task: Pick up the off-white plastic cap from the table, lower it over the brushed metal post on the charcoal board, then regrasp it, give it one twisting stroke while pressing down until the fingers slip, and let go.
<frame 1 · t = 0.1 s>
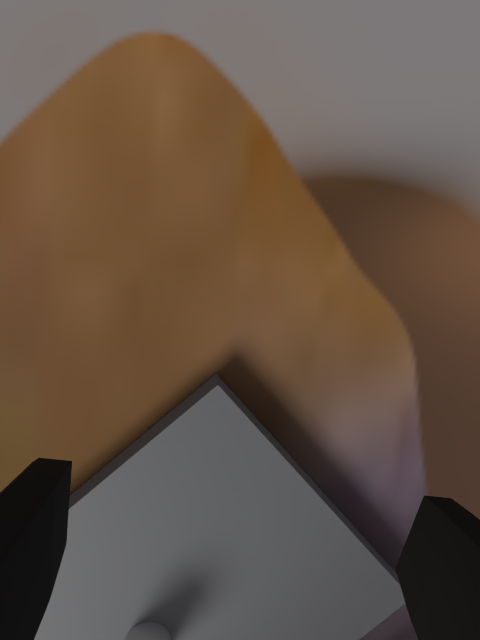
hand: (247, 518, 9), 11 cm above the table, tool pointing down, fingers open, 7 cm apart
post board: (150, 613, 21), on the table
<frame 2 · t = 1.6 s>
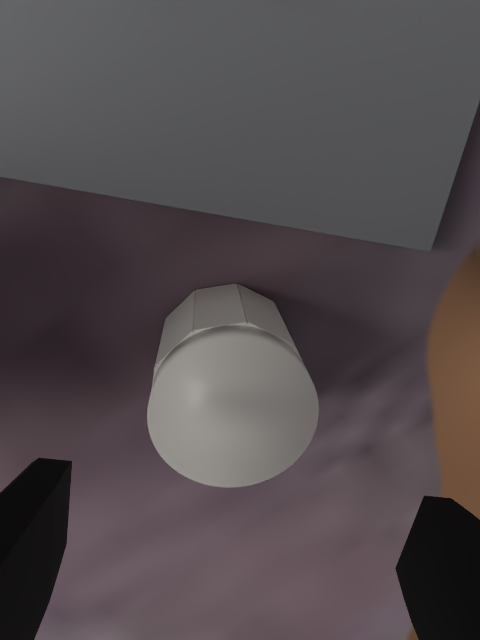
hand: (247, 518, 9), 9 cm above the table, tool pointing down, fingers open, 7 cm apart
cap: (225, 346, 17), on the table
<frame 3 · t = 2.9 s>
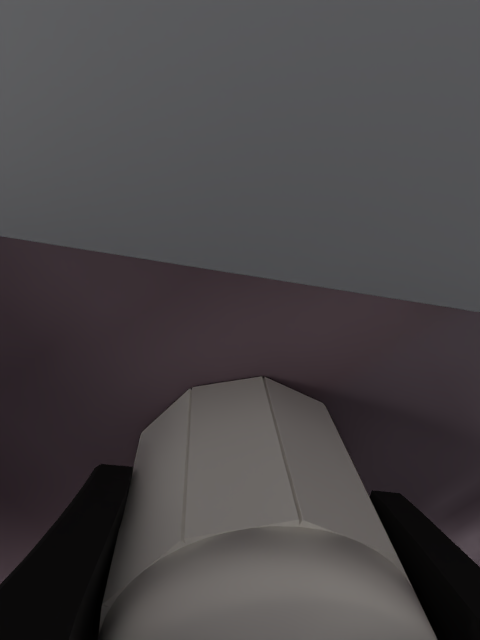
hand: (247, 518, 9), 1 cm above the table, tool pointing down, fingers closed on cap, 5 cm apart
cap: (242, 472, 10), on the table, touching gripper
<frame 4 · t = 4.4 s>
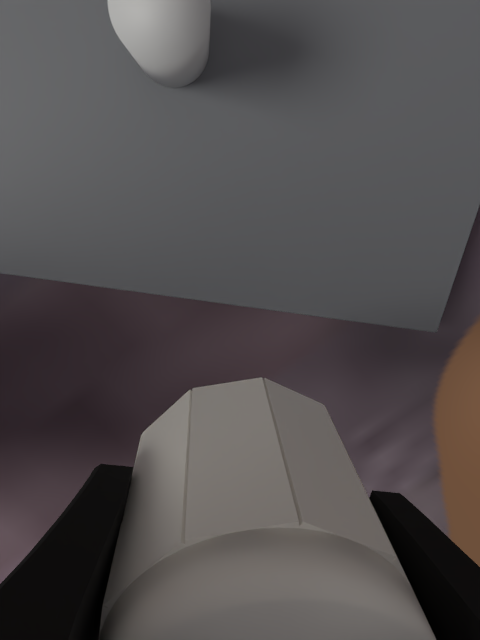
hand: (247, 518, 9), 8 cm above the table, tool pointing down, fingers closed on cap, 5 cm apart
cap: (242, 473, 10), point 7 cm above the table, touching gripper
post board: (175, 57, 13), on the table
when the fingers open (4 cm above the table, at t = 6.4 s): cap stays where it is, resting on post board.
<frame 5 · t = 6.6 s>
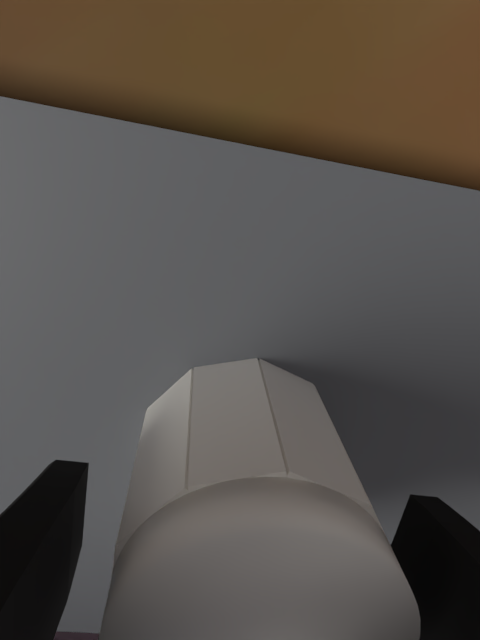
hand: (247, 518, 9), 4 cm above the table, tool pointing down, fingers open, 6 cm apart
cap: (238, 447, 11), point 1 cm above the table, touching post board
post board: (235, 414, 13), on the table
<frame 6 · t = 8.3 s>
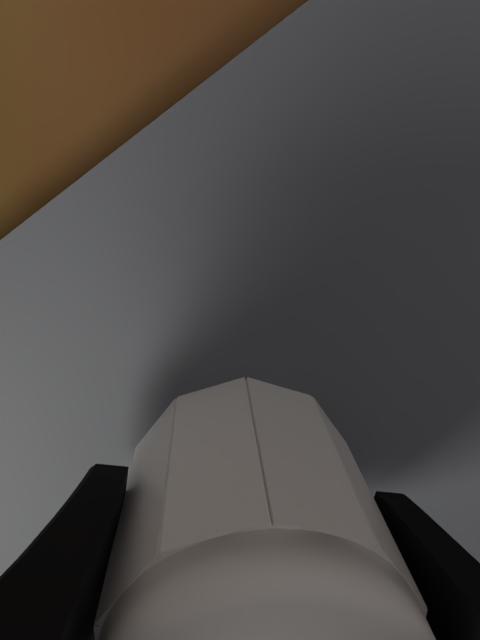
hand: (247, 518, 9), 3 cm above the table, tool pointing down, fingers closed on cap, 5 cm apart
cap: (241, 473, 10), point 2 cm above the table, touching gripper, post board
post board: (237, 434, 12), on the table
when the fingers open (3 cm above the table, at t = 10.5 s): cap stays where it is, resting on post board.
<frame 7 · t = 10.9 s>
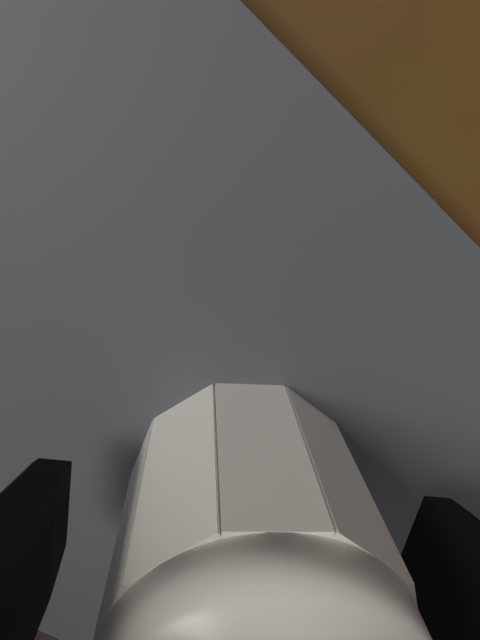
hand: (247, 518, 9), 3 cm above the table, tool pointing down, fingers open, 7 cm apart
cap: (241, 476, 10), point 1 cm above the table, touching post board
post board: (237, 434, 12), on the table
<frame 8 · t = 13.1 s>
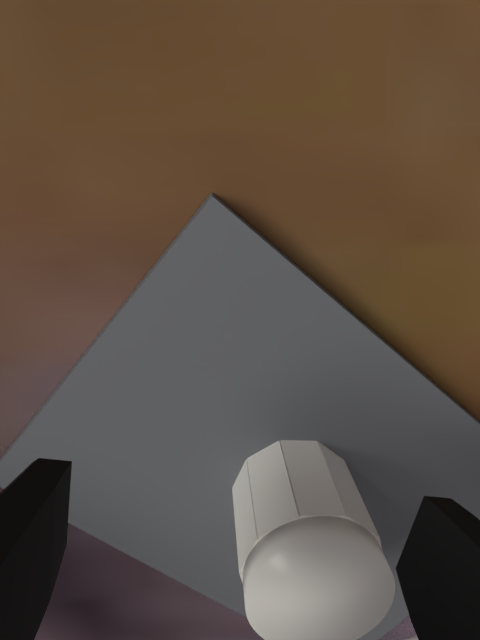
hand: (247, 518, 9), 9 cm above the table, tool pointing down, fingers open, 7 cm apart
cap: (291, 488, 19), point 1 cm above the table, touching post board
post board: (286, 463, 20), on the table
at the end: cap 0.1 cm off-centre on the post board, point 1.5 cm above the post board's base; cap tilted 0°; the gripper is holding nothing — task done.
